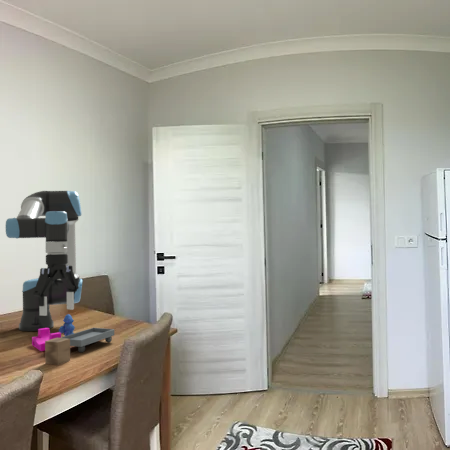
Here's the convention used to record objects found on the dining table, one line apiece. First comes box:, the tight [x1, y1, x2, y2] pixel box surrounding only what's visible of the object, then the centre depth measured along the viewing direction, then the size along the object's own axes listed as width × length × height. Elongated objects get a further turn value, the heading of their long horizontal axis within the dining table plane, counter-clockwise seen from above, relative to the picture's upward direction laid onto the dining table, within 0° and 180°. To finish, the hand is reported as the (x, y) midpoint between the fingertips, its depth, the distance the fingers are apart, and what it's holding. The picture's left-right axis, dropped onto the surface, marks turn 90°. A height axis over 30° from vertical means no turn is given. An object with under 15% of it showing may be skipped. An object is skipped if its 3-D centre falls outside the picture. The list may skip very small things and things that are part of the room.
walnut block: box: [44, 338, 71, 366], centre depth 167 cm, size 6×6×8 cm
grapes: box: [58, 313, 76, 336], centre depth 196 cm, size 12×7×12 cm, turn 30°
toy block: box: [31, 328, 62, 352], centre depth 185 cm, size 15×6×8 cm, turn 41°
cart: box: [61, 327, 115, 353], centre depth 188 cm, size 11×21×5 cm, turn 157°
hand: (57, 312), depth 167 cm, fingers open, 13 cm apart
